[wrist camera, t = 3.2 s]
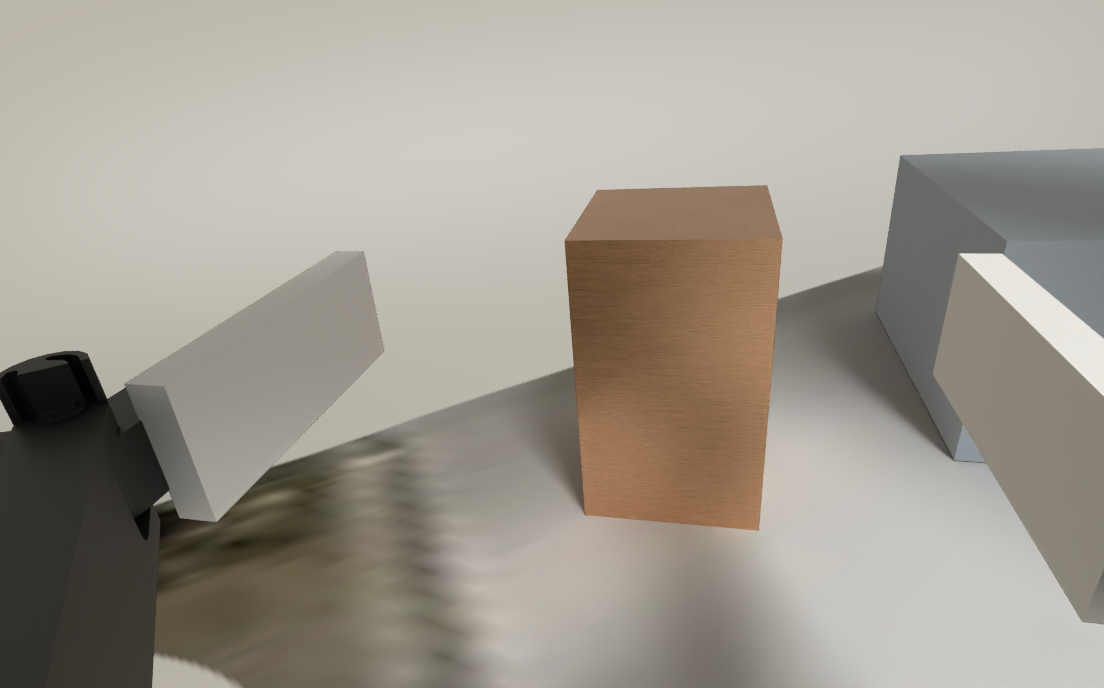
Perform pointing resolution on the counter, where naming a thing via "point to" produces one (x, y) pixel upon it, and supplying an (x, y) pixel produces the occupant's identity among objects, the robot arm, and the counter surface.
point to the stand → (987, 248)
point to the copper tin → (674, 351)
